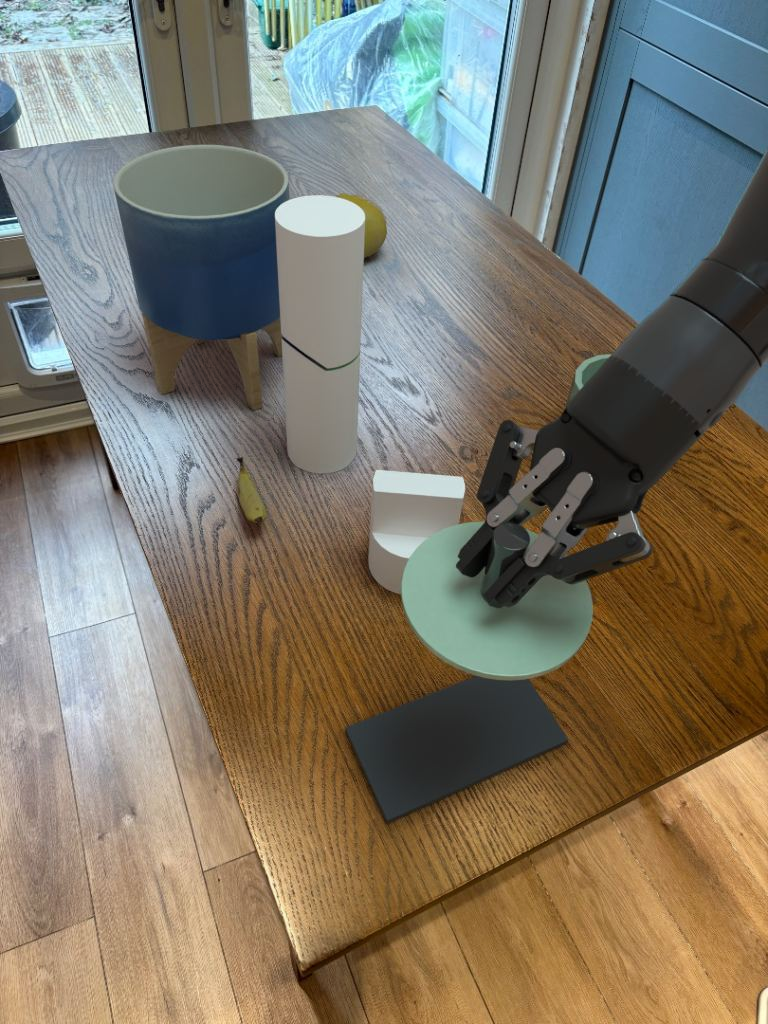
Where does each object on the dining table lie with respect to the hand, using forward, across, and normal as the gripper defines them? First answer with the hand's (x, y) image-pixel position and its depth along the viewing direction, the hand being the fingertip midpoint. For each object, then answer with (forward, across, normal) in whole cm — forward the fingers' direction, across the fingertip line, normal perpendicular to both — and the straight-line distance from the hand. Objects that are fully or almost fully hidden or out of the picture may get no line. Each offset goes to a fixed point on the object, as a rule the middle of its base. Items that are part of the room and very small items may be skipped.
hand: (478, 587), depth 51 cm
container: (+9, -39, +23) cm, 46 cm away
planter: (+12, -60, +21) cm, 64 cm away
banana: (+18, -34, +15) cm, 41 cm away
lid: (0, 0, +3) cm, 3 cm away
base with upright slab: (+10, -19, +23) cm, 31 cm away
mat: (+15, 0, +17) cm, 23 cm away
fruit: (-11, -80, +44) cm, 91 cm away
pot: (-14, -22, +46) cm, 53 cm away
